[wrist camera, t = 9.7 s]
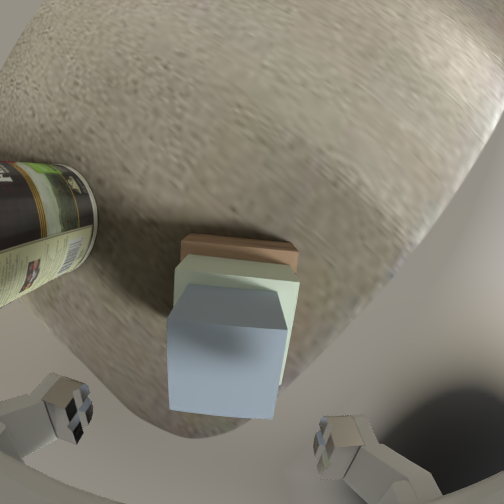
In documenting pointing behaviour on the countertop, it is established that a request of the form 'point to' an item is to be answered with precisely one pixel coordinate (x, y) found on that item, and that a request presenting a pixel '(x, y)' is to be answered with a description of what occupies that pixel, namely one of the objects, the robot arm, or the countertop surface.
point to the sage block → (241, 281)
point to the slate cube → (225, 351)
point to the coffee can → (42, 225)
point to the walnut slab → (240, 249)
